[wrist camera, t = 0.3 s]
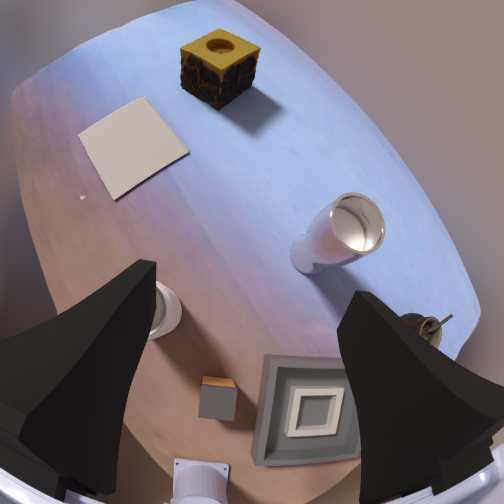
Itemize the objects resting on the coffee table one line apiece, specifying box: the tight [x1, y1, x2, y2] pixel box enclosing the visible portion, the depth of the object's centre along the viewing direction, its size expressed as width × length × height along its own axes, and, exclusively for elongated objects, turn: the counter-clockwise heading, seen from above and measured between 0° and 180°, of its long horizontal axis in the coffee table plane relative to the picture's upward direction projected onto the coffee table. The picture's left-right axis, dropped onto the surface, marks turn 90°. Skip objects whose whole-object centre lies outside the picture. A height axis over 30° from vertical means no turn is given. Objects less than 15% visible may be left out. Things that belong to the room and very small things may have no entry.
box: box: [251, 354, 361, 466], centre depth 34 cm, size 16×16×4 cm
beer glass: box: [290, 193, 385, 274], centre depth 34 cm, size 7×7×15 cm
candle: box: [180, 29, 261, 110], centre depth 41 cm, size 10×10×10 cm
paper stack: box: [79, 96, 189, 200], centre depth 40 cm, size 23×25×1 cm
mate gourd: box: [400, 313, 453, 348], centre depth 36 cm, size 7×8×10 cm
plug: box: [198, 376, 238, 421], centre depth 32 cm, size 4×4×6 cm
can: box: [148, 281, 182, 340], centre depth 30 cm, size 6×6×12 cm
